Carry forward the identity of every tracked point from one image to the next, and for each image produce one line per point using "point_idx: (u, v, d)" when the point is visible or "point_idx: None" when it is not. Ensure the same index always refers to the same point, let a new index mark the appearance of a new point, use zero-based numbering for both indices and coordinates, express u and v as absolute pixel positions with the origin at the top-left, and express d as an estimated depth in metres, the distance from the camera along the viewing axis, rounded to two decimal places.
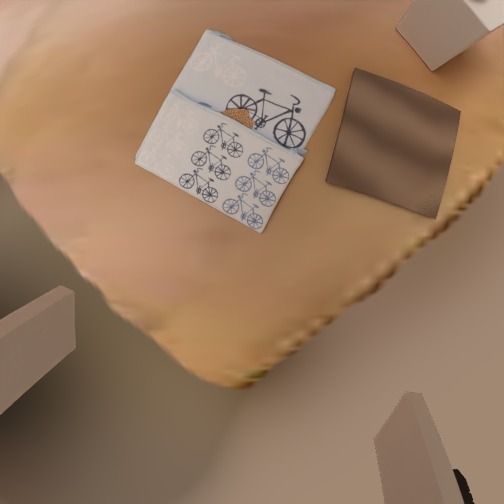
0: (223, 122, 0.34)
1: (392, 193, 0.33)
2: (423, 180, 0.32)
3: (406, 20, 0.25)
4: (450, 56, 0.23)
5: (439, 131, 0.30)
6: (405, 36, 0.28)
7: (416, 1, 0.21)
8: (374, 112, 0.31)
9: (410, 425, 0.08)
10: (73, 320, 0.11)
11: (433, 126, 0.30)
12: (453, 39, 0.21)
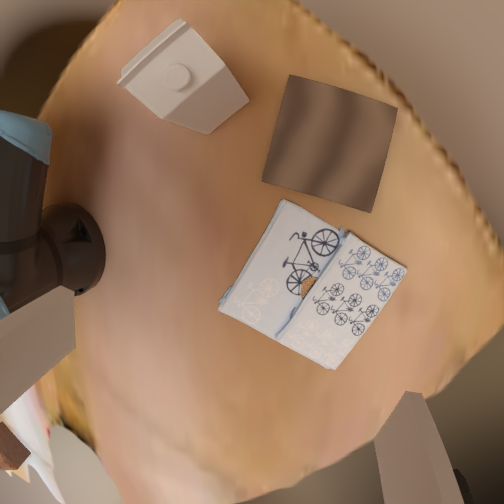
0: (312, 298, 0.41)
1: (379, 151, 0.35)
2: (364, 119, 0.34)
3: (202, 129, 0.35)
4: (241, 90, 0.31)
5: (316, 100, 0.34)
6: (216, 126, 0.37)
7: (188, 126, 0.30)
8: (305, 165, 0.37)
9: (410, 425, 0.08)
10: (73, 320, 0.11)
11: (311, 105, 0.35)
12: (228, 91, 0.29)
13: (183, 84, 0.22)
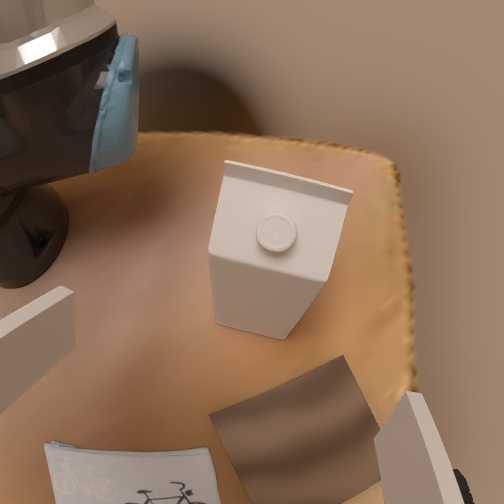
0: None
1: (341, 493, 0.22)
2: (359, 455, 0.24)
3: (220, 314, 0.28)
4: (294, 323, 0.26)
5: (339, 400, 0.27)
6: (232, 326, 0.31)
7: (215, 294, 0.24)
8: (263, 446, 0.24)
9: (410, 425, 0.08)
10: (73, 320, 0.11)
11: (329, 401, 0.27)
12: (286, 310, 0.23)
13: (272, 247, 0.17)
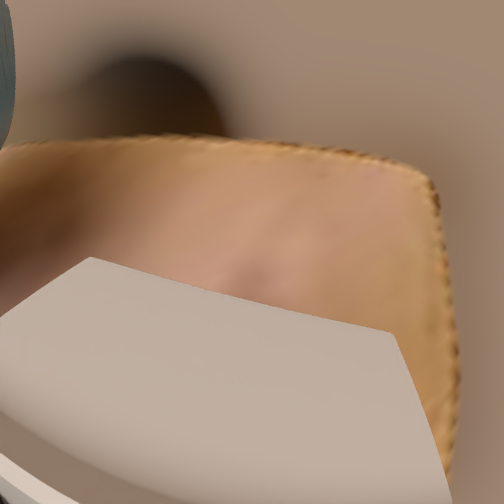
0: None
1: None
2: None
3: None
4: None
5: None
6: None
7: None
8: None
9: None
10: None
11: None
12: None
13: None
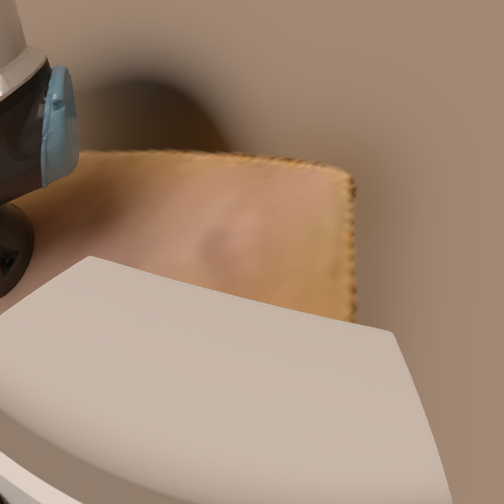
0: None
1: None
2: None
3: None
4: None
5: None
6: None
7: None
8: None
9: None
10: None
11: None
12: None
13: None
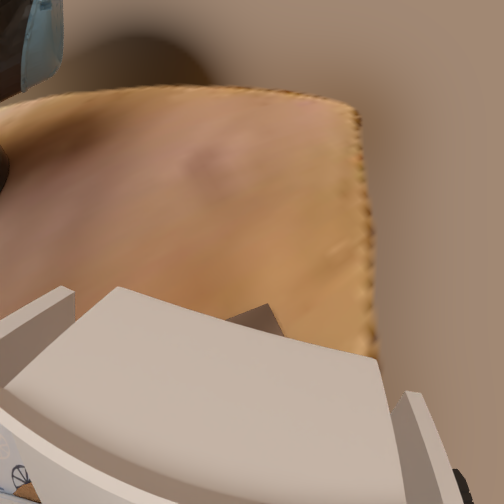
0: None
1: None
2: None
3: None
4: None
5: None
6: None
7: None
8: None
9: (409, 424, 0.08)
10: (74, 320, 0.11)
11: None
12: None
13: None
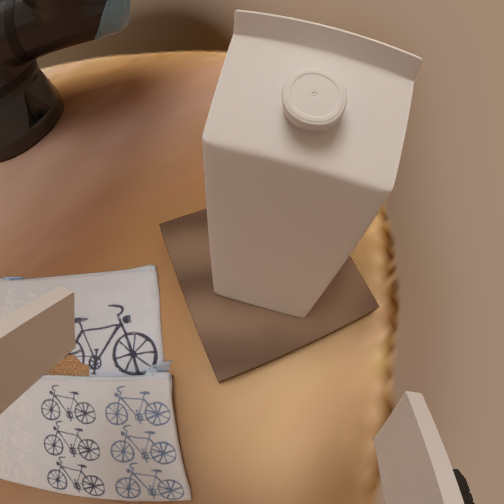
0: (53, 384, 0.20)
1: (308, 327, 0.23)
2: None
3: (220, 275, 0.21)
4: (324, 286, 0.18)
5: None
6: (235, 296, 0.23)
7: (212, 236, 0.17)
8: None
9: (410, 425, 0.08)
10: (73, 320, 0.11)
11: None
12: (317, 260, 0.16)
13: (309, 117, 0.09)
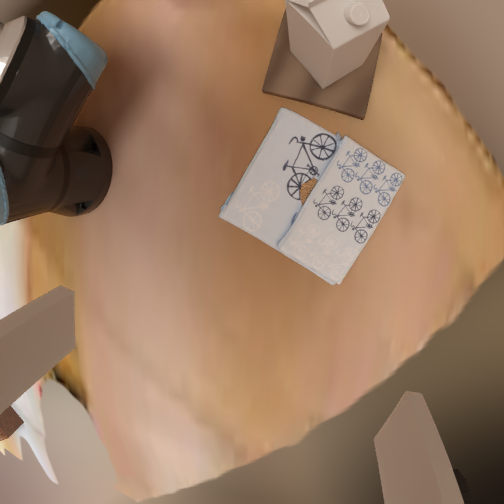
0: (312, 201, 0.42)
1: (368, 66, 0.35)
2: None
3: (328, 79, 0.33)
4: (371, 49, 0.29)
5: None
6: (333, 81, 0.36)
7: (329, 69, 0.29)
8: (301, 76, 0.37)
9: (410, 425, 0.08)
10: (73, 320, 0.11)
11: None
12: (368, 45, 0.27)
13: (364, 22, 0.20)
